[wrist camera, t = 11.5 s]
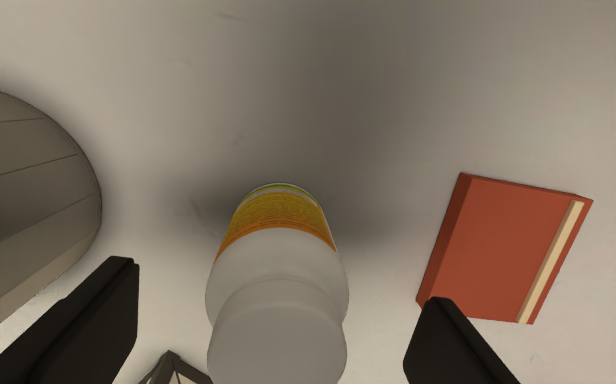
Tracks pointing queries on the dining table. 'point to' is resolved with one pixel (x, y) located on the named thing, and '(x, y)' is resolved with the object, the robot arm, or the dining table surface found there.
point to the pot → (40, 203)
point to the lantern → (175, 372)
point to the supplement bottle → (277, 294)
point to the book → (502, 248)
